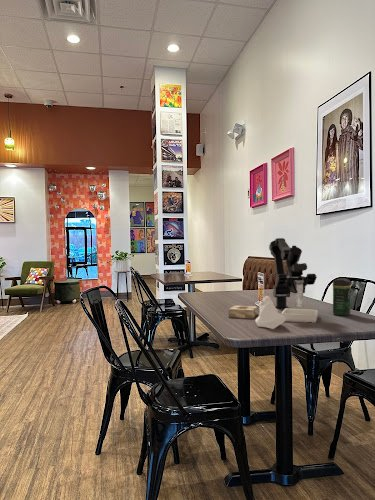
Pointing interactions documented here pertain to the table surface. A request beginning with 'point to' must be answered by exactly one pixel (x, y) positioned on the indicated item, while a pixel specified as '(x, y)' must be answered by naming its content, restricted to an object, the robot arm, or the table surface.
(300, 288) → the steel pin
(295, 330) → the table surface
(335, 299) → the coffee jar
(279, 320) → the white tetrapod block
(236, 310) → the block
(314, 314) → the tray
